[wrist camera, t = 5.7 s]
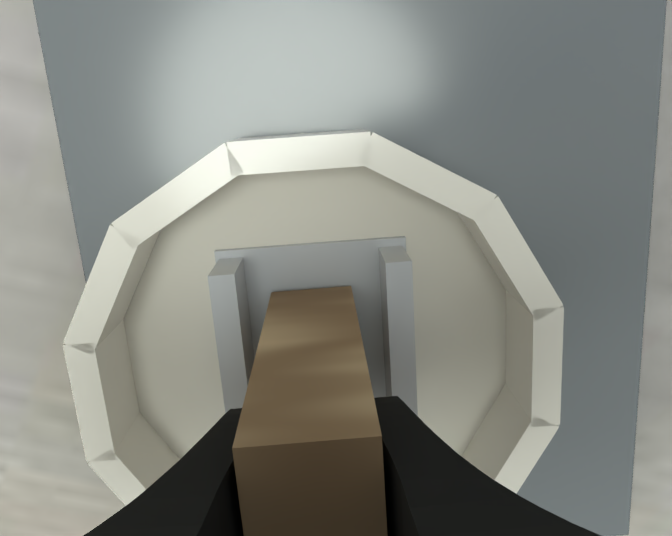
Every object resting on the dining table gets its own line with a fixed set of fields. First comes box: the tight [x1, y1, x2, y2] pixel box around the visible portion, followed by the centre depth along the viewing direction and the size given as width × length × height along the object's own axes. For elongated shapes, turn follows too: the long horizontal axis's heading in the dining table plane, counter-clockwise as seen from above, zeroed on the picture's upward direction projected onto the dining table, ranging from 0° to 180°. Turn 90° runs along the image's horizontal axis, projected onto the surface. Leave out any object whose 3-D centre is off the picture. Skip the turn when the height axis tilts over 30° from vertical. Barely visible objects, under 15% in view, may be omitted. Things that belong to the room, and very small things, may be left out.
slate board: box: [33, 0, 667, 536], centre depth 15 cm, size 15×26×1 cm, turn 4°
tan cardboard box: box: [232, 286, 388, 536], centre depth 12 cm, size 2×4×7 cm, turn 4°
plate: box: [63, 129, 564, 506], centre depth 15 cm, size 11×11×2 cm
